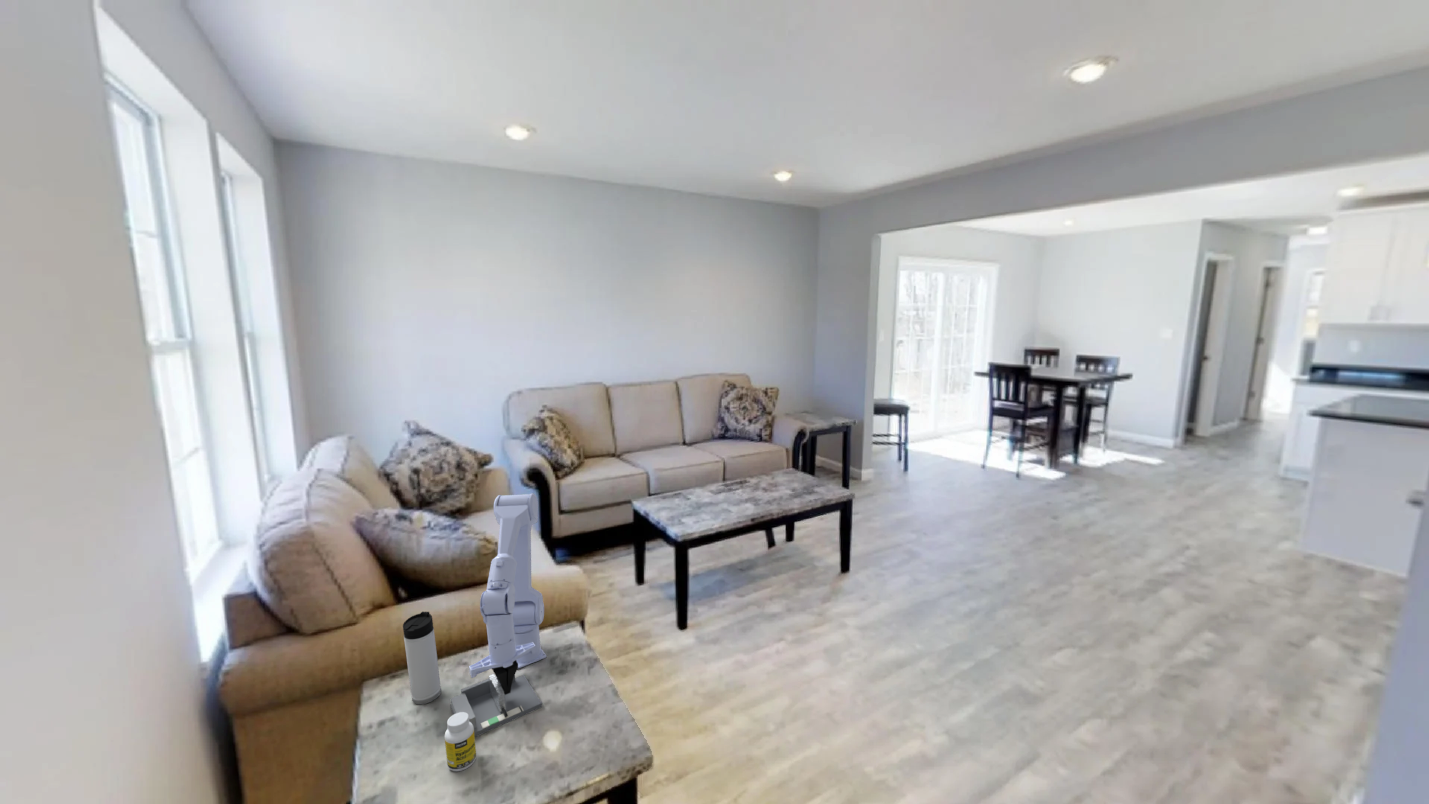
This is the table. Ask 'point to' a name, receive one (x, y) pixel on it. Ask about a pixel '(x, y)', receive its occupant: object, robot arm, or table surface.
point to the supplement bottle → (460, 742)
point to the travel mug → (422, 658)
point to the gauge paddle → (497, 694)
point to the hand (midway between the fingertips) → (506, 691)
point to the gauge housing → (485, 709)
